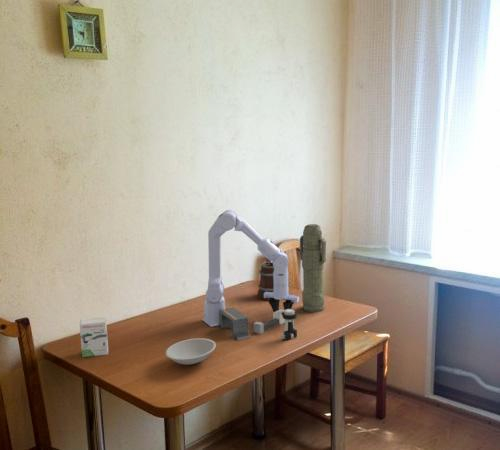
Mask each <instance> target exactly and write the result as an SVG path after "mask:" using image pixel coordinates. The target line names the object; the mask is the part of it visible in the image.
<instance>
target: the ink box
mask: <svg viewBox="0 0 500 450" xmlns="http://www.w3.org/2000/svg"><path fill="white" fill-rule="evenodd" d="M107 327H108V325H107V317H105V316H102V317H90V318H82V319H80V321H79V335H80V345H81V355H82V356H81V358H89V357H98V356H107V355H109V340H108V339H109V337H108V328H107Z"/></svg>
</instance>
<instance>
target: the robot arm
mask: <svg viewBox="0 0 500 450" xmlns="http://www.w3.org/2000/svg"><path fill="white" fill-rule="evenodd" d="M233 229H234V231H235V232H242V233H243V234H245V236H246V237H248V238H249V239H250V240H251V241H253V243H255V244H256V245H257V251H258V252H260V253H261V254H262V255H263V256H264V257H265V258H266V259H267V260H268V262H273V266H274V272H273V278H274V292H265V293H264V298H270V300H268V304H269V306H270V307H271V310H272V312H276V311H278V310H280V301H281V300H282V301H283V302H282V307H283V310H286V309H292V307H293V306H294V304H298V303H299V302H300V296H297V295H294V294H291V293H289V288H290V287H289V284H290V283H289V271H288V270H289V267H288V266H289V264H290V263H289V262H290V261H289V258H288V255H287V254H286V252H284V250H283V249H281V248H280V249H279V247H277V246H276V245H275V244H274V241H273V240H272V239H269V238H263V237H262V236H261V235H260V234H259V233H258V232H257V231H256V230H255V229H254V228H253V227H252V226H251V225H250V224H249V223H248V222H247V221H246V220H245V219H244V218H243V217H242V216H240V215H239V214H237V213H236V212H235V211H233V210H231V209H228V210H225V211H223V212H222V213H220V214H219V215H218V217H217V218H216V219H215V221H214V222H213V224H212V225H211V226H210V228H209V230H208V233H207V234H208V236H207V237H208V242H207V243H208V282H207V283H208V284H207V290H206V292H205V297H206V298H205V300H204V302H203V318H201V319H202V321H203V322H204V323H205V324H207V325H208V326H209V327H210V328H211V327H212V328H213V327H218V326H219V310H220V309H226V300H225V299H226V298H225V297H224V295H223V293H224V291H225V286H224V284H223V281H222V280H223V279H222V249H221V248H222V244H221V243H222V241H221V240H222V236H223V235H224V234H225V233H227V232H228V231H230V230H233Z"/></svg>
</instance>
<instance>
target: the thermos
mask: <svg viewBox="0 0 500 450" xmlns="http://www.w3.org/2000/svg"><path fill="white" fill-rule="evenodd" d="M326 251H327V241H326V239H325V237H323V231H322V229H321V225H318V224H315V223H314V224H307V225H305V226H304V228H303V231H302V235H300V238H299V257H300V258H299V259H300V261H301V268H302V273H303V274H302V276H303V280H302V281H303V290H302V292H301V293H302V296H301V298H302V299H301V300H302V310H303V311H305V312H310V313H319V312H322V311H324V310H325V306H324V305H325V292H324V289H323V288H324V285H323V284H324V283H323V282H324V280H323V279H324V278H323V277H324V274H323V273H324V267H325V266H324V265H325V263H326V261H327V260H326V259H327V257H326V256H327V254H326Z"/></svg>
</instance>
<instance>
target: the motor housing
mask: <svg viewBox="0 0 500 450" xmlns="http://www.w3.org/2000/svg"><path fill="white" fill-rule="evenodd" d="M218 326H219V328H220V330H227V329H230V337H231V338H232V339H235V340H236V341H242V340H246V339H250V338H251V336H252V335H251V334H250V331H249V329H250V328H249V317H248V316H247V315H246V314H244V313H242V312H241V311H239V310H238V309H236V308H235V307H228V308H225V309H220V310H219V325H218Z"/></svg>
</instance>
